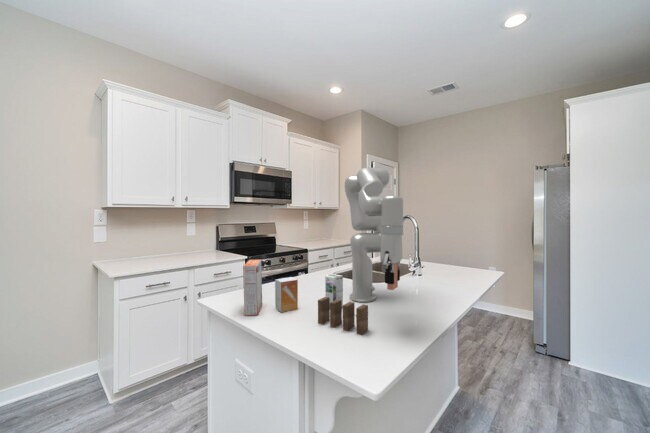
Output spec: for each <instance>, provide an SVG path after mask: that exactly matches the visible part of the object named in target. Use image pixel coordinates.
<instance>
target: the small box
mask: <svg viewBox="0 0 650 433" xmlns="http://www.w3.org/2000/svg"><path fill="white" fill-rule="evenodd" d="M298 281H299V280H298V279H296V278H295V277H292V276H289V277H281V278H278V279H276V278H275V279H274V284H275V285H274V288H275V289H274V290H275V292H274V295H275V296H274V297H275V298H274V299H275V301H274V303H275V306H274V307H275V309H276V310H277V311H278V312H280V313H285V312H289V311H294V310H299V309H298V308H299V307H298V306H299V305H298V304H299V302H298V301H299V299H298V297H299V294H298V289H299V288H298V285H299V284H298V283H299V282H298Z"/></svg>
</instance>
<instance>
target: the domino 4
mask: <svg viewBox="0 0 650 433" xmlns="http://www.w3.org/2000/svg"><path fill="white" fill-rule="evenodd" d="M355 308H356V309H355V311H356V312H355V313H356V319H355V320H356V322H355V323H356V326H355V327H356V335H358V336H363V335H364V334H366V333H367V332H368V331H369V305H368V304H362V305H360V306H358V307H355Z"/></svg>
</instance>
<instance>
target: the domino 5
mask: <svg viewBox="0 0 650 433" xmlns="http://www.w3.org/2000/svg"><path fill="white" fill-rule="evenodd" d="M389 266H390V268H391V265H389ZM398 270H399V269H398V263H395V264H394V267H393V273H394V284H387V283H386V285H387V286H386V287H387V288H386V289H387V290H389V291H394V290H395V289H397V288H398V287H399V284H398V282H399V281H398Z"/></svg>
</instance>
